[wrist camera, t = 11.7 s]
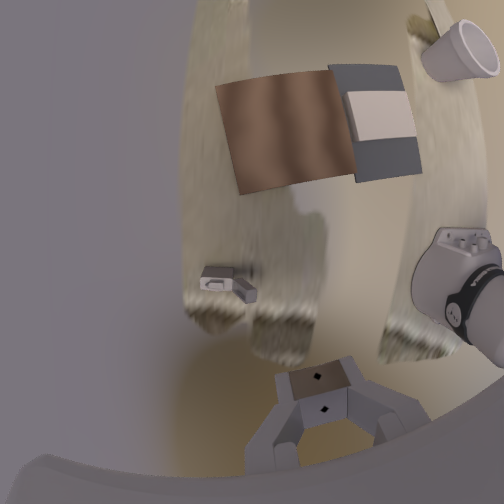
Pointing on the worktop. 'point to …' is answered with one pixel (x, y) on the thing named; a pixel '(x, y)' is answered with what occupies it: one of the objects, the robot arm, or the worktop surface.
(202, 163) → the worktop surface
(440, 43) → the foam cup
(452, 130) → the worktop surface
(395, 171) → the mat
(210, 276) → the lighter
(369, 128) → the tile
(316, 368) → the robot arm
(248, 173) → the plate
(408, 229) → the worktop surface
